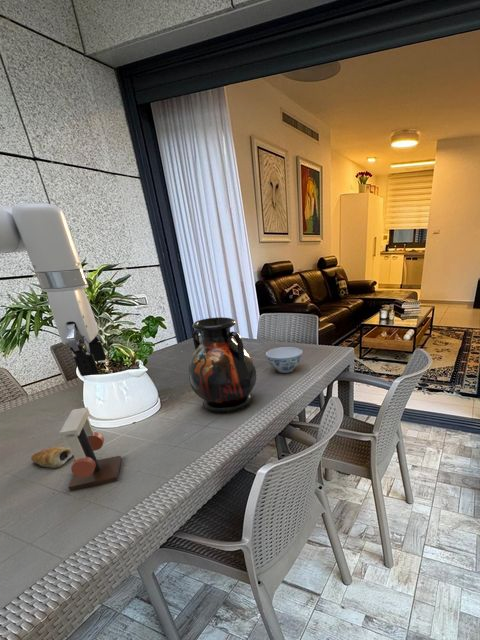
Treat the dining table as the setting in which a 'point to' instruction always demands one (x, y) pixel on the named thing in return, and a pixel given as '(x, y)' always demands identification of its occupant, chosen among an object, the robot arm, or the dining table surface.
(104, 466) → the headphone stand
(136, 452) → the dining table surface
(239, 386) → the amphora vase
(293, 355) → the chinaware
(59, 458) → the pastry
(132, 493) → the dining table surface
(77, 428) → the over-ear headset
